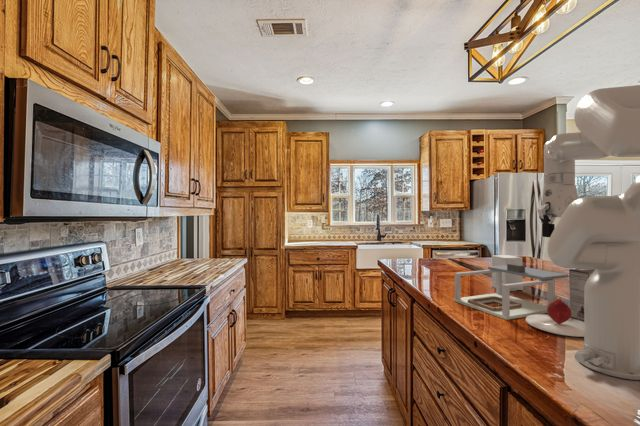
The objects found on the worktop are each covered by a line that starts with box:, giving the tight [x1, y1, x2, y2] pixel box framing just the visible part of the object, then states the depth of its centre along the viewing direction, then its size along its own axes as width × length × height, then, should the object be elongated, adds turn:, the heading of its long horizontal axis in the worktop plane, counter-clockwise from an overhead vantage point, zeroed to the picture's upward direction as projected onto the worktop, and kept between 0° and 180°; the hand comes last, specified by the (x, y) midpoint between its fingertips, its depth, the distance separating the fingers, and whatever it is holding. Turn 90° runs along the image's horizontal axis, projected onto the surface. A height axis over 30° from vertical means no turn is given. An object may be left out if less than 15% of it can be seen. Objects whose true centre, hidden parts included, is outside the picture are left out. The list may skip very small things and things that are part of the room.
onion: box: [547, 296, 572, 324], centre depth 94 cm, size 6×6×8 cm
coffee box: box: [568, 268, 595, 321], centre depth 103 cm, size 9×6×16 cm
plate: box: [525, 313, 584, 338], centre depth 95 cm, size 17×17×1 cm
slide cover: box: [487, 264, 569, 280], centre depth 120 cm, size 13×22×4 cm, turn 20°
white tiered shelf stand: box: [453, 269, 556, 321], centre depth 116 cm, size 24×23×11 cm
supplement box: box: [491, 254, 524, 292], centre depth 142 cm, size 9×9×15 cm
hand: (559, 236), depth 94 cm, fingers open, 9 cm apart
